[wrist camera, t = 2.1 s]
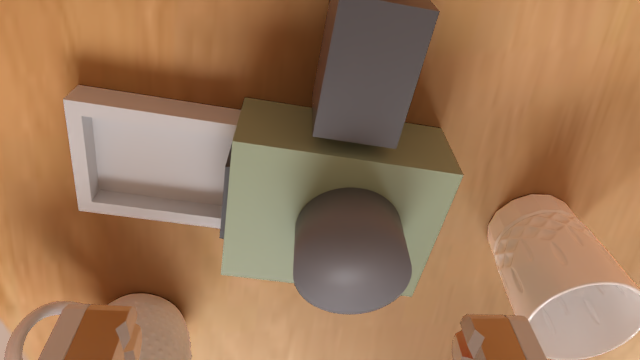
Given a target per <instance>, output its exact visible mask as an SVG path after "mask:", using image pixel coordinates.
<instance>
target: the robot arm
mask: <svg viewBox="0 0 640 360" xmlns="http://www.w3.org/2000/svg"><path fill="white" fill-rule="evenodd" d="M137 317H138V313H137V310H136V306H115V305H94V304H68V305H67V306H66V307H65V308H64V309H63V310H62V312H61V314H60V316H59V318H58V320H57V322H56V324H55V326H54V328H53V330H52V332H51V335H50V337H49V339H48V341H47V343H46V345H45V347H44V349H43V351H42V353H41V355H40V357H39V359H38V360H139V357H140V353H141V346H142V331H141V327H140V326H139V325H138V324H136V320H137ZM460 324H461V328H462V330H461V331H459V332H458V333H456V334H455V336H454V339H453V342H452V357H453V360H547V358H546V356H545V354H544V352H543V350H542V348H541V346H540V344H539V341H538V339H537V337H536V335H535V333H534V331H533V329H532V327H531V325H530V323H529V321H528V319H527V318H526V317H525V316H511V315H504V316H503V315H477V314H466V315H465V316H463V318H462V320H461V322H460Z"/></svg>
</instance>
